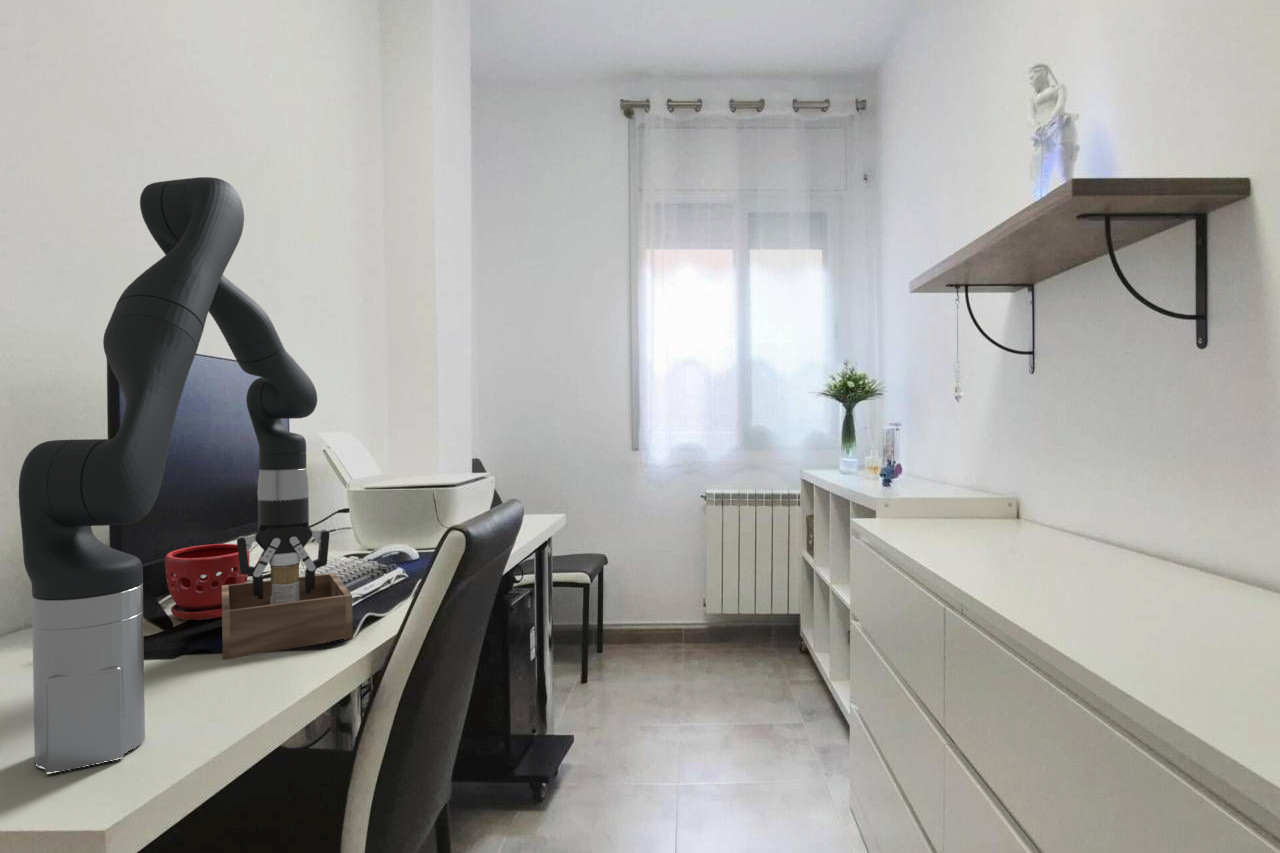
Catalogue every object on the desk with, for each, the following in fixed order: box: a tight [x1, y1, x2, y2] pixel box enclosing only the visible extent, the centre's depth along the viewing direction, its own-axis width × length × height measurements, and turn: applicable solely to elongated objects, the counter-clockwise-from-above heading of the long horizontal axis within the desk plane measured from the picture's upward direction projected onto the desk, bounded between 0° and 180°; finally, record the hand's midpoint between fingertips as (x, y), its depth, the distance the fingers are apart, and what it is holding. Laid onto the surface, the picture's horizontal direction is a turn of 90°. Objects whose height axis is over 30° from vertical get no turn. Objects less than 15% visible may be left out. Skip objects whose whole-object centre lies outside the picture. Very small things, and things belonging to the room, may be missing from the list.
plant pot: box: [164, 543, 250, 621], centre depth 126 cm, size 13×13×12 cm
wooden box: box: [221, 572, 354, 660], centre depth 115 cm, size 20×18×7 cm
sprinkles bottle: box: [268, 552, 301, 604], centre depth 115 cm, size 5×5×14 cm
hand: (284, 595), depth 115 cm, fingers open, 6 cm apart
